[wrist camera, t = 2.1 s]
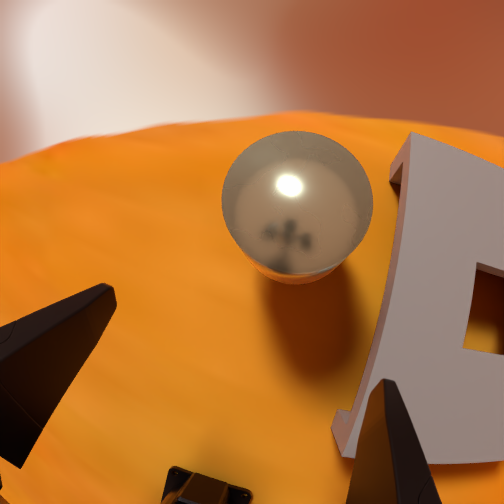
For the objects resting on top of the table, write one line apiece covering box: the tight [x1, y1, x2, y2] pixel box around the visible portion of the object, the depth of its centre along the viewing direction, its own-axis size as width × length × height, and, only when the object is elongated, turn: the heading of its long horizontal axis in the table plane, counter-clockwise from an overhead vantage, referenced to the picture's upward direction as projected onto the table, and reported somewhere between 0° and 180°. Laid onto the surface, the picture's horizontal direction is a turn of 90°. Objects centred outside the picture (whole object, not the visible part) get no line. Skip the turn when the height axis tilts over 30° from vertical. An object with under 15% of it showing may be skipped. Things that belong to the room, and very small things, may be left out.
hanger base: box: [331, 132, 504, 464], centre depth 17 cm, size 20×16×5 cm
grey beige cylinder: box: [222, 131, 373, 285], centre depth 17 cm, size 6×6×9 cm
